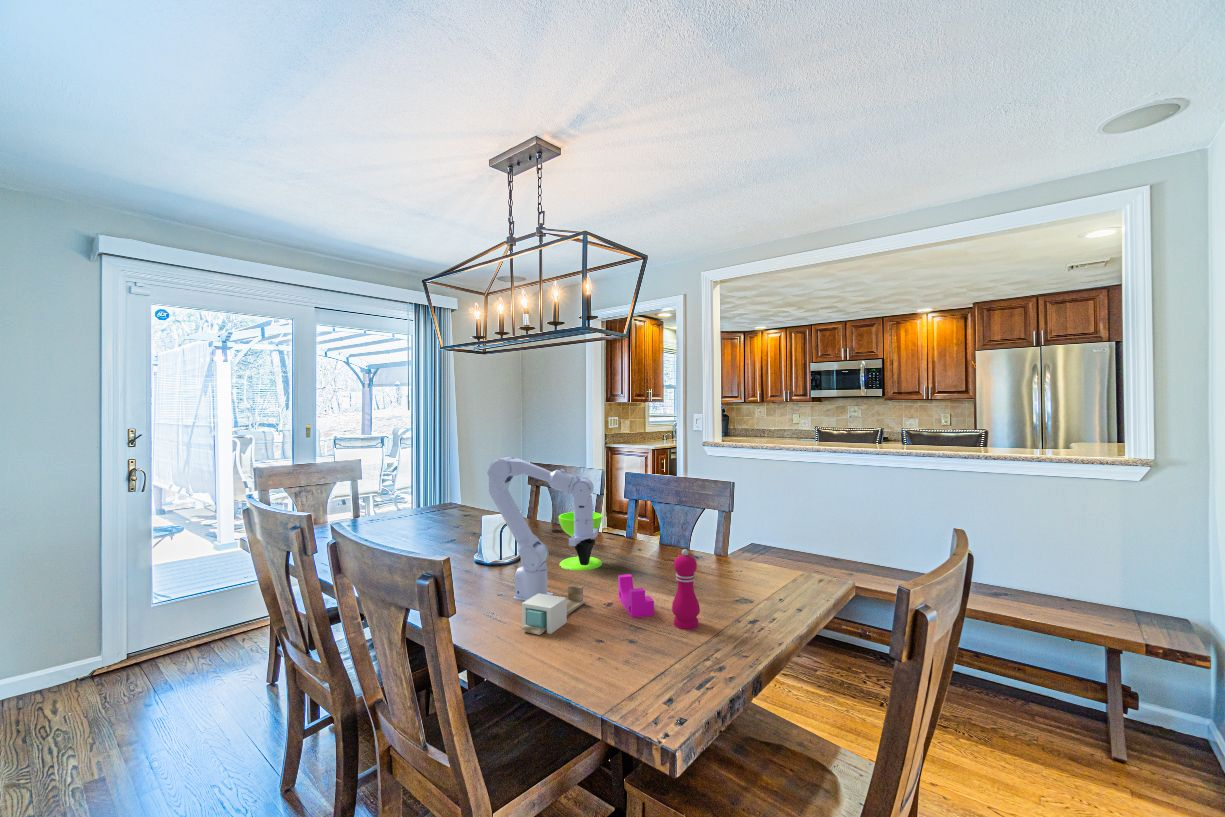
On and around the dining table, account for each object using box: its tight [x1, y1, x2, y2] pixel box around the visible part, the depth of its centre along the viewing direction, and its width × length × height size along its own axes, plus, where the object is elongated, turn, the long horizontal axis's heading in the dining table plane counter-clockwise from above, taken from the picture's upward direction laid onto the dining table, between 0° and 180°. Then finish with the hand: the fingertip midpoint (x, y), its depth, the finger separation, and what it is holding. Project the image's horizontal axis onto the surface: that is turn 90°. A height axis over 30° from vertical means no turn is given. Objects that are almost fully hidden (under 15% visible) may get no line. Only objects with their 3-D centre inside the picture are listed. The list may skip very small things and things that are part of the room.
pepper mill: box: [671, 548, 701, 631], centre depth 138 cm, size 7×7×20 cm
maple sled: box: [523, 584, 586, 636], centre depth 144 cm, size 5×24×5 cm, turn 155°
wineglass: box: [558, 511, 603, 571], centre depth 194 cm, size 16×16×18 cm
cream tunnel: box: [521, 593, 568, 635], centre depth 139 cm, size 9×8×7 cm
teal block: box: [527, 609, 547, 630], centre depth 136 cm, size 4×4×4 cm
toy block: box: [617, 573, 655, 619], centre depth 151 cm, size 15×6×8 cm, turn 13°
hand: (584, 564), depth 158 cm, fingers closed
